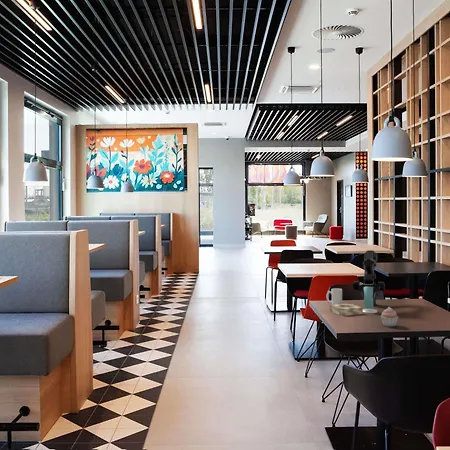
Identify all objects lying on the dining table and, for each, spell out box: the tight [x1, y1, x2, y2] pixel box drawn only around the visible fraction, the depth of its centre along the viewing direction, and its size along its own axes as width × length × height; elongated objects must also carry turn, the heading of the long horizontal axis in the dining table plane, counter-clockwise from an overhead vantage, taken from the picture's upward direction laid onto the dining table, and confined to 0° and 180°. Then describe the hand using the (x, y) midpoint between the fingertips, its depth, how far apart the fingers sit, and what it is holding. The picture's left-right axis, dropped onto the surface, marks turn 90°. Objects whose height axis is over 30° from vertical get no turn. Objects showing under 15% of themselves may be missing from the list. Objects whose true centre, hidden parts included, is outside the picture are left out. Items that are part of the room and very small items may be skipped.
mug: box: [326, 287, 343, 305], centre depth 312 cm, size 10×7×12 cm, turn 73°
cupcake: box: [380, 306, 399, 328], centre depth 258 cm, size 9×9×10 cm
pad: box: [363, 308, 378, 314], centre depth 296 cm, size 10×10×1 cm
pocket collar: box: [329, 303, 364, 317], centre depth 295 cm, size 14×14×4 cm
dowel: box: [363, 287, 374, 309], centre depth 296 cm, size 5×5×12 cm
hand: (368, 297), depth 295 cm, fingers closed on dowel, 5 cm apart
